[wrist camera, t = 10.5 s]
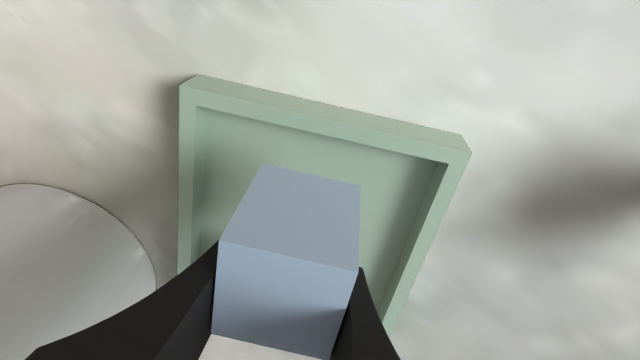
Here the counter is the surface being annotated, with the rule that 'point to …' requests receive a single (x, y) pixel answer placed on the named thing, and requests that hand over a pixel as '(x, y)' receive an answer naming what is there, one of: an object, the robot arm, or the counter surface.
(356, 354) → the robot arm
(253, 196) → the bluegrey block
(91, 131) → the counter surface
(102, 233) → the utensil holder
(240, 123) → the tray
